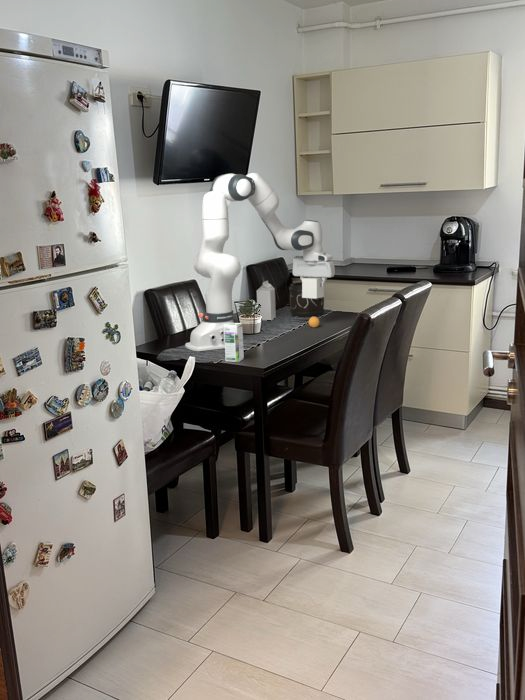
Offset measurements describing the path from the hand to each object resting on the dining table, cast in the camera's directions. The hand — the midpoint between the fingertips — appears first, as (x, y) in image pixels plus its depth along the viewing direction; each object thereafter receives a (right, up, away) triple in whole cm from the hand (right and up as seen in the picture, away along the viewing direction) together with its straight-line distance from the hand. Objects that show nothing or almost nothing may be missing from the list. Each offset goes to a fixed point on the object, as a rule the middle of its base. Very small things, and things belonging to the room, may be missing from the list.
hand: (313, 286), depth 311 cm
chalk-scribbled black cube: (0, -11, +34) cm, 36 cm away
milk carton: (-21, -14, +27) cm, 37 cm away
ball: (0, -16, +4) cm, 17 cm away
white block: (0, -5, 0) cm, 5 cm away
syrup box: (-34, -33, -47) cm, 67 cm away
